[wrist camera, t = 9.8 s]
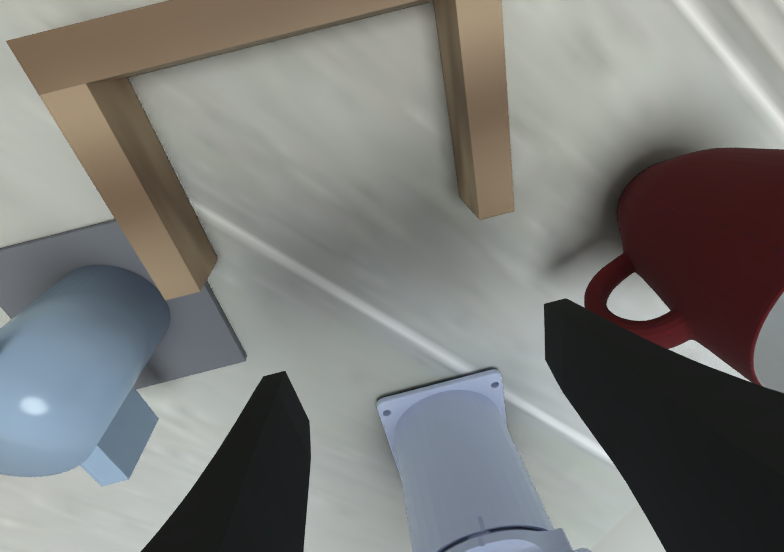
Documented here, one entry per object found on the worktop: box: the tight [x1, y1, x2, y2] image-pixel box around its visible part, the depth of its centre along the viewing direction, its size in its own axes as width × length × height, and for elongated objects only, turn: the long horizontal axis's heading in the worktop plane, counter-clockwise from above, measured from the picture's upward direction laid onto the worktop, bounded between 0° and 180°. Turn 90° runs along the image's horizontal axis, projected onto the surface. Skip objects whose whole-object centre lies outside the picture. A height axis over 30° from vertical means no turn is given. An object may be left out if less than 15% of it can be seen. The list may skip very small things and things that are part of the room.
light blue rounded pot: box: [0, 265, 170, 486], centre depth 17 cm, size 8×5×7 cm, turn 13°
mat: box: [0, 219, 247, 389], centre depth 20 cm, size 9×9×1 cm
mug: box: [584, 148, 784, 393], centre depth 17 cm, size 10×8×10 cm
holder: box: [6, 0, 514, 300], centre depth 16 cm, size 10×15×3 cm, turn 102°
